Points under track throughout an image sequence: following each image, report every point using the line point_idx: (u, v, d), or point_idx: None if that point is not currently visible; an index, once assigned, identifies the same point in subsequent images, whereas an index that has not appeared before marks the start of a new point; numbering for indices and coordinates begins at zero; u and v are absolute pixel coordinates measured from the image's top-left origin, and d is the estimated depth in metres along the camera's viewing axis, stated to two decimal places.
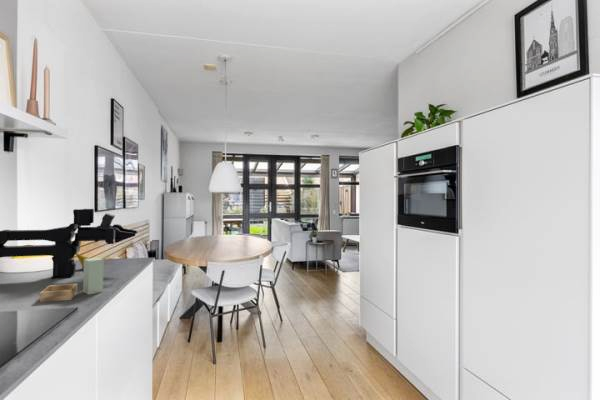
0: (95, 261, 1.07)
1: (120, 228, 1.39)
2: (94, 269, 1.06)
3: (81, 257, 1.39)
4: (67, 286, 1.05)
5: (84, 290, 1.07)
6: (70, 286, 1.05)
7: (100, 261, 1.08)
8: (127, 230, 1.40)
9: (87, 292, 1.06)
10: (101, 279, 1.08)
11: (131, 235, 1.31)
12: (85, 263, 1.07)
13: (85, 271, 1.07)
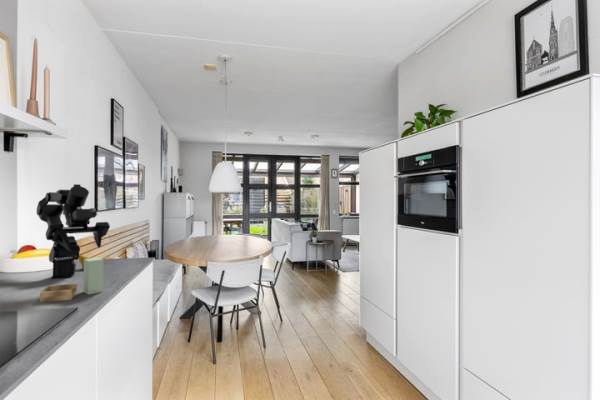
0: (95, 261, 1.07)
1: (97, 230, 1.19)
2: (94, 269, 1.06)
3: (81, 257, 1.39)
4: (67, 286, 1.05)
5: (84, 290, 1.07)
6: (70, 286, 1.05)
7: (100, 261, 1.08)
8: (97, 238, 1.18)
9: (87, 292, 1.06)
10: (101, 279, 1.08)
11: (66, 247, 1.10)
12: (85, 263, 1.07)
13: (85, 271, 1.07)
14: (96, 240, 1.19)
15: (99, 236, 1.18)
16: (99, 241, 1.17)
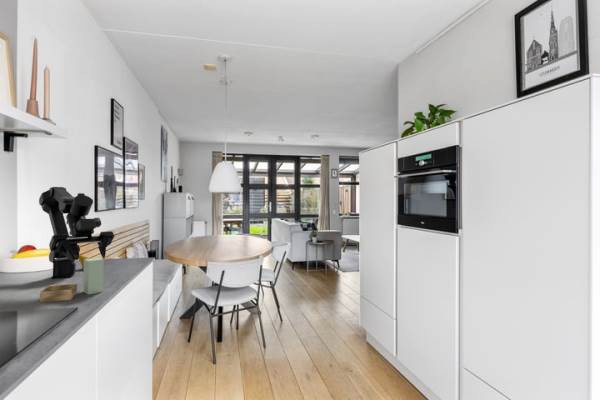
0: (95, 261, 1.07)
1: (102, 240, 1.16)
2: (94, 269, 1.06)
3: (81, 257, 1.39)
4: (67, 286, 1.05)
5: (84, 290, 1.07)
6: (70, 286, 1.05)
7: (100, 261, 1.08)
8: (102, 248, 1.15)
9: (87, 292, 1.06)
10: (101, 279, 1.08)
11: (70, 258, 1.07)
12: (85, 263, 1.07)
13: (85, 271, 1.07)
14: (100, 250, 1.16)
15: (104, 246, 1.16)
16: (104, 251, 1.15)
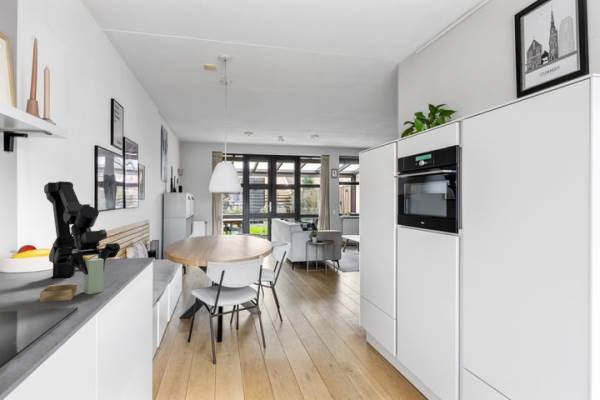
0: (95, 261, 1.07)
1: (100, 253, 1.12)
2: (94, 269, 1.06)
3: None
4: (67, 286, 1.05)
5: (84, 290, 1.07)
6: (70, 286, 1.05)
7: (100, 261, 1.08)
8: None
9: (87, 292, 1.06)
10: (101, 279, 1.08)
11: (83, 271, 1.06)
12: (85, 263, 1.07)
13: None
14: None
15: None
16: None
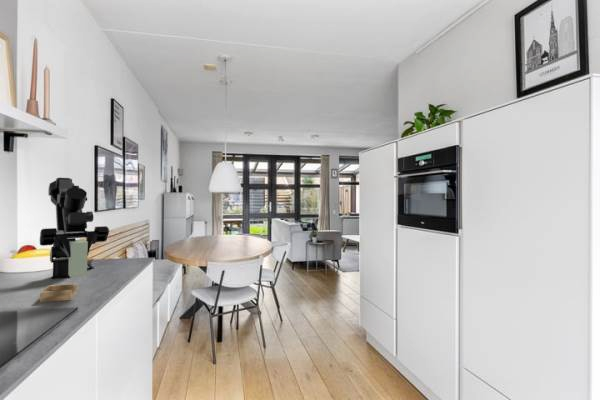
0: (78, 243, 1.03)
1: (87, 236, 1.08)
2: (77, 252, 1.03)
3: None
4: (67, 286, 1.05)
5: (68, 273, 1.04)
6: (70, 286, 1.05)
7: (84, 243, 1.04)
8: None
9: (70, 275, 1.02)
10: (85, 262, 1.04)
11: (67, 253, 1.02)
12: (69, 246, 1.04)
13: None
14: None
15: (88, 242, 1.07)
16: None
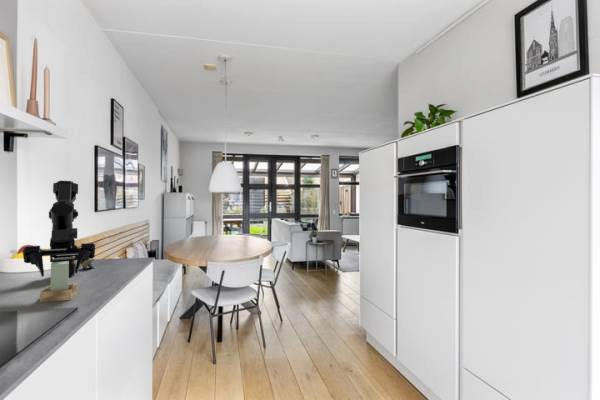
0: (58, 265, 0.99)
1: None
2: (57, 274, 0.99)
3: None
4: None
5: None
6: (70, 286, 1.05)
7: (64, 265, 1.00)
8: None
9: None
10: (66, 285, 1.01)
11: (40, 273, 0.99)
12: None
13: None
14: None
15: (78, 260, 1.05)
16: (77, 266, 1.04)
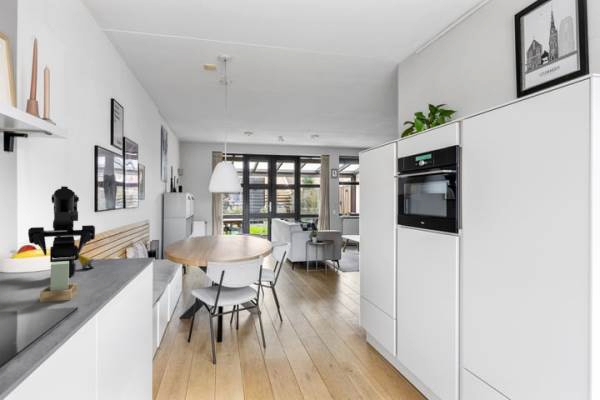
0: (58, 265, 0.99)
1: (81, 234, 1.14)
2: (57, 274, 0.99)
3: (81, 257, 1.39)
4: None
5: None
6: (70, 286, 1.05)
7: (64, 265, 1.00)
8: (79, 242, 1.13)
9: None
10: (66, 285, 1.01)
11: (43, 252, 1.06)
12: None
13: None
14: None
15: (81, 240, 1.13)
16: (79, 246, 1.12)
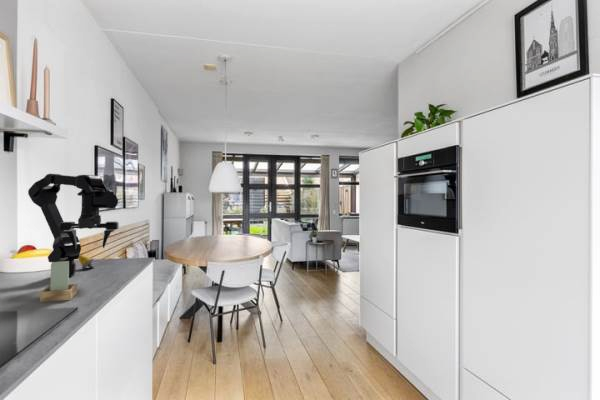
0: (58, 265, 0.99)
1: None
2: (57, 274, 0.99)
3: (81, 257, 1.39)
4: None
5: None
6: (70, 286, 1.05)
7: (64, 265, 1.00)
8: None
9: None
10: (66, 285, 1.01)
11: None
12: None
13: None
14: None
15: (104, 238, 1.24)
16: (103, 243, 1.24)
